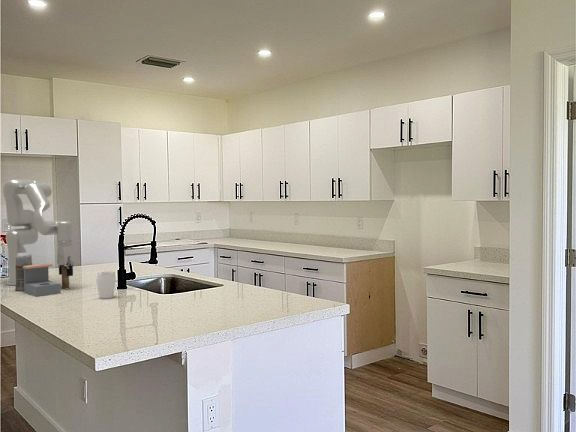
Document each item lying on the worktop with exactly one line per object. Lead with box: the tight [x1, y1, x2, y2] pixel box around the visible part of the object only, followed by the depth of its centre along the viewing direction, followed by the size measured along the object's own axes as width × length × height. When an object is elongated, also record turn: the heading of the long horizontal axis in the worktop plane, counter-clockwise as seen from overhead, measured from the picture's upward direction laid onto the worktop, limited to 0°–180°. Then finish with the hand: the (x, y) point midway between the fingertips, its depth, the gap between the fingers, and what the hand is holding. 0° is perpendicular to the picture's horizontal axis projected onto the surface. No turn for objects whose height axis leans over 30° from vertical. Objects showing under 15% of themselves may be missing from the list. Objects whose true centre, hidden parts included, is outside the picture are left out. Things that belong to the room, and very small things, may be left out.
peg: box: [61, 265, 70, 290], centre depth 280 cm, size 4×4×12 cm
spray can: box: [15, 251, 33, 292], centre depth 276 cm, size 8×8×20 cm
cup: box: [95, 271, 117, 299], centre depth 255 cm, size 9×9×12 cm
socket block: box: [23, 263, 62, 298], centre depth 267 cm, size 16×13×14 cm
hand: (66, 275), depth 280 cm, fingers open, 9 cm apart
